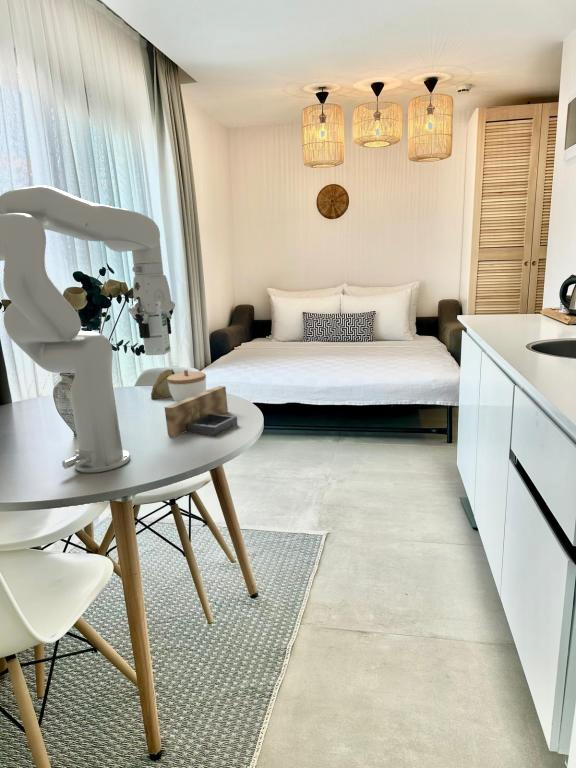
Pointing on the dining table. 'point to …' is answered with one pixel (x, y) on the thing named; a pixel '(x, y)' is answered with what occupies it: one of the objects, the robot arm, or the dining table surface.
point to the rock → (162, 385)
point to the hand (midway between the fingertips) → (156, 335)
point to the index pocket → (202, 428)
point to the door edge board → (195, 409)
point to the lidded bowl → (186, 384)
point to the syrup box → (157, 332)
